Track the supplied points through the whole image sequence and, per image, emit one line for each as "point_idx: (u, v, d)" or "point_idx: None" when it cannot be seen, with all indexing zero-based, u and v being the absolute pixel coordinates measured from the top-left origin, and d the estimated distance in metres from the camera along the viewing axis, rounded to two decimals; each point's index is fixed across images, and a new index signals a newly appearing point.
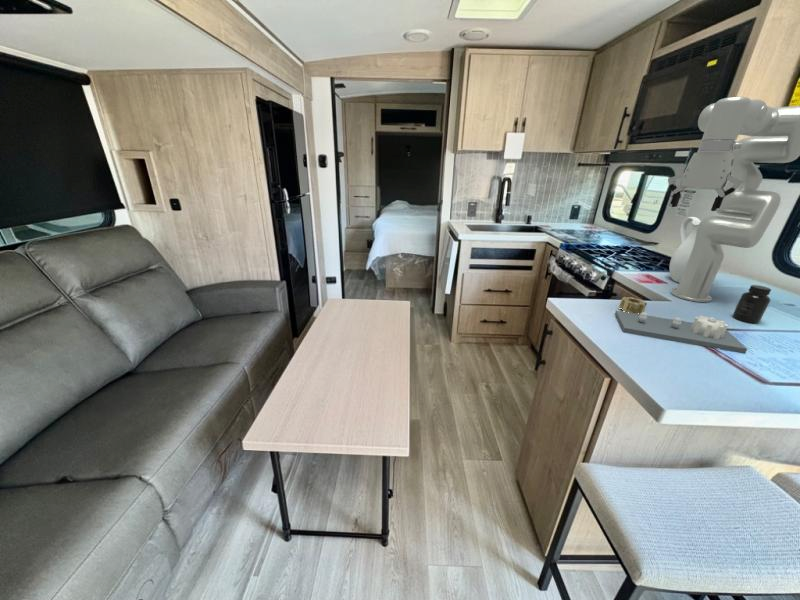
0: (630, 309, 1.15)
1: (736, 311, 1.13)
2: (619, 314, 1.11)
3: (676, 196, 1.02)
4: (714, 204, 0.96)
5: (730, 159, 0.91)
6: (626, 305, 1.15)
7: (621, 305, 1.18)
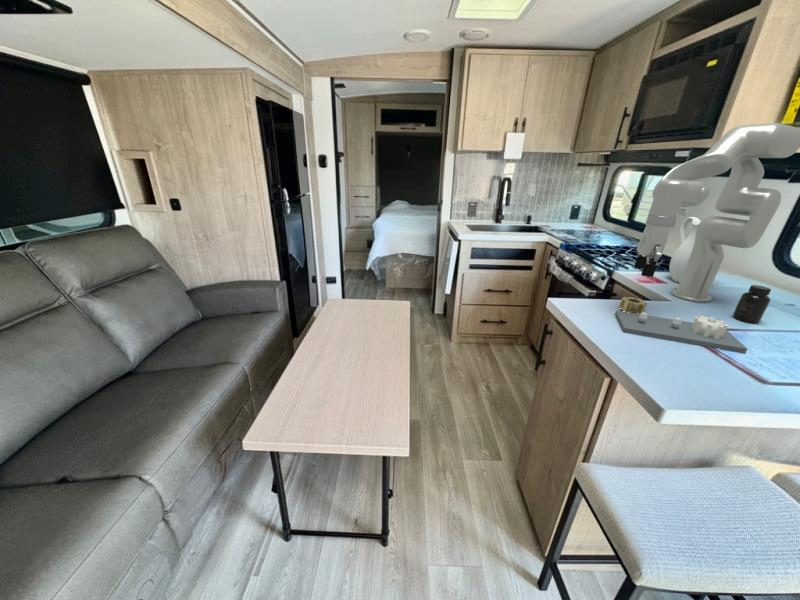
0: (630, 309, 1.15)
1: (736, 311, 1.13)
2: (619, 314, 1.11)
3: None
4: (646, 263, 1.15)
5: None
6: (626, 305, 1.15)
7: (621, 305, 1.18)
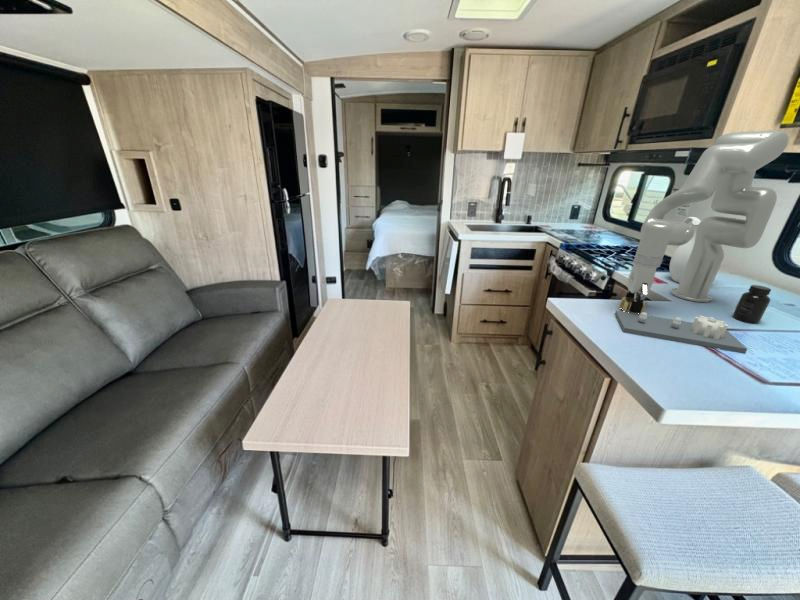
0: None
1: (736, 311, 1.13)
2: (619, 314, 1.11)
3: None
4: None
5: None
6: (626, 305, 1.15)
7: (621, 305, 1.18)
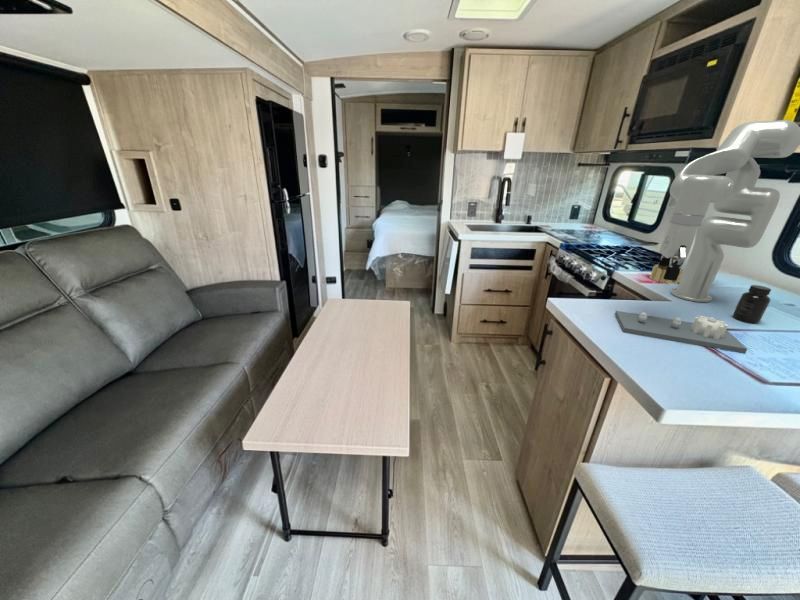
0: None
1: (736, 311, 1.13)
2: (619, 314, 1.11)
3: None
4: None
5: None
6: (659, 272, 1.03)
7: (653, 273, 1.05)
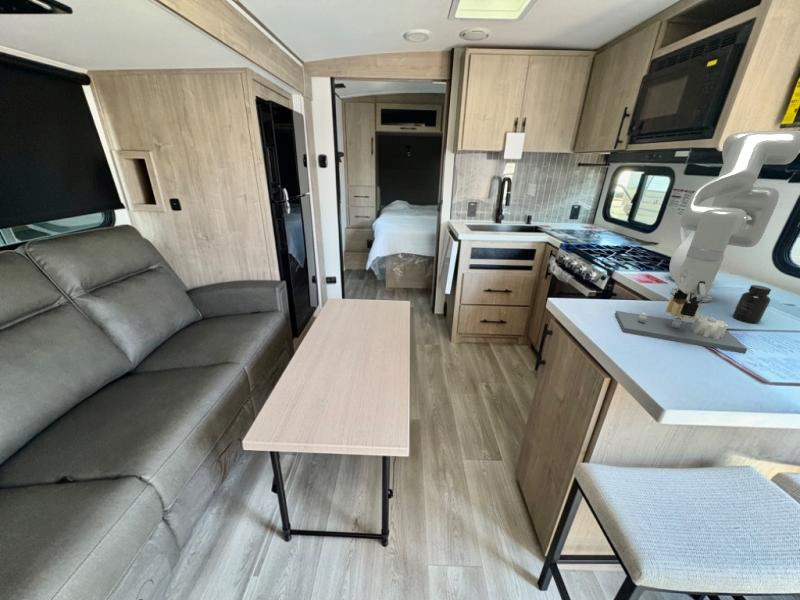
0: None
1: (736, 311, 1.13)
2: (619, 314, 1.11)
3: None
4: None
5: None
6: (676, 307, 0.99)
7: (669, 307, 1.01)
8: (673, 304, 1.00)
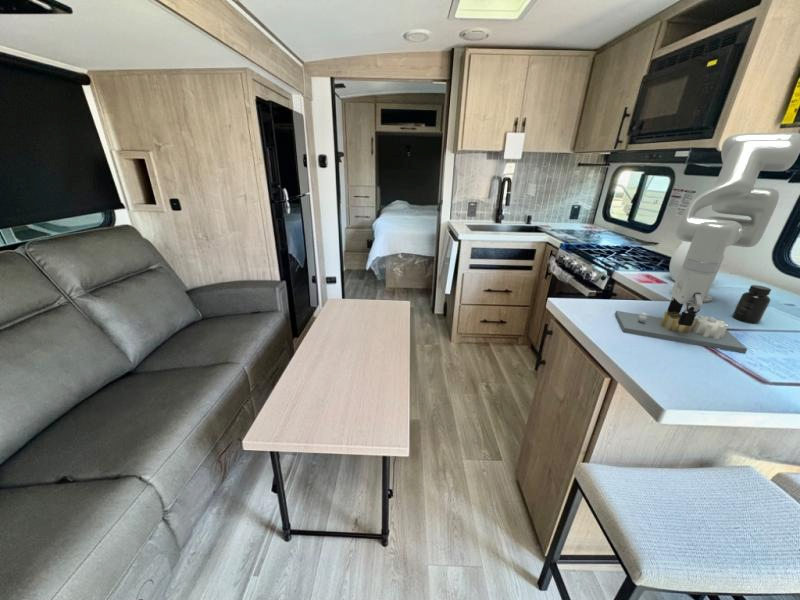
0: (675, 326, 1.00)
1: (736, 311, 1.13)
2: (619, 314, 1.11)
3: None
4: None
5: None
6: (670, 321, 1.01)
7: (664, 321, 1.03)
8: (668, 318, 1.02)
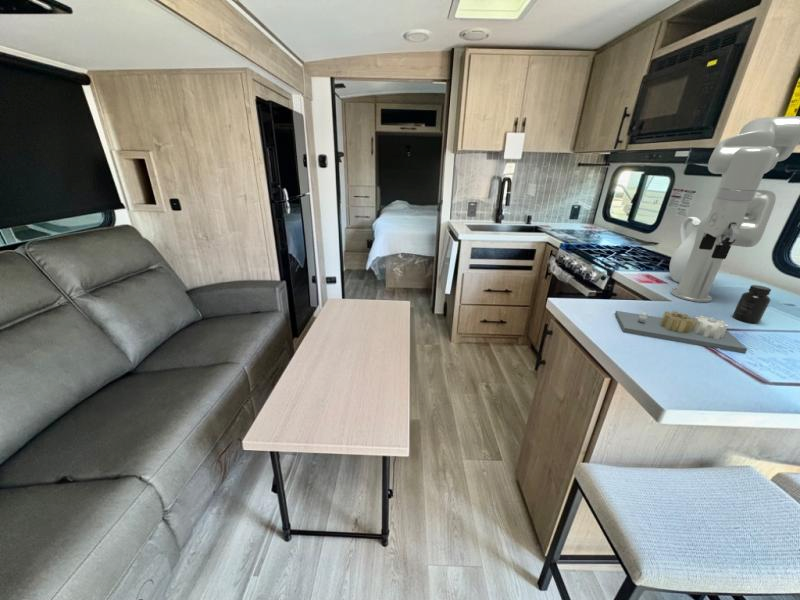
0: (675, 326, 1.00)
1: (736, 311, 1.13)
2: (619, 314, 1.11)
3: None
4: None
5: None
6: (670, 321, 1.01)
7: (664, 321, 1.03)
8: (668, 318, 1.02)
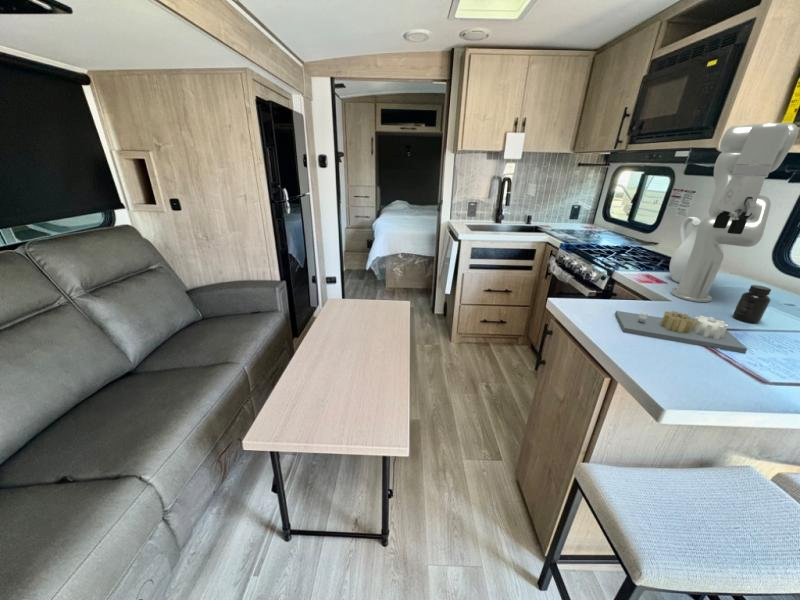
0: (675, 326, 1.00)
1: (736, 311, 1.13)
2: (619, 314, 1.11)
3: None
4: None
5: None
6: (670, 321, 1.01)
7: (664, 321, 1.03)
8: (668, 318, 1.02)
